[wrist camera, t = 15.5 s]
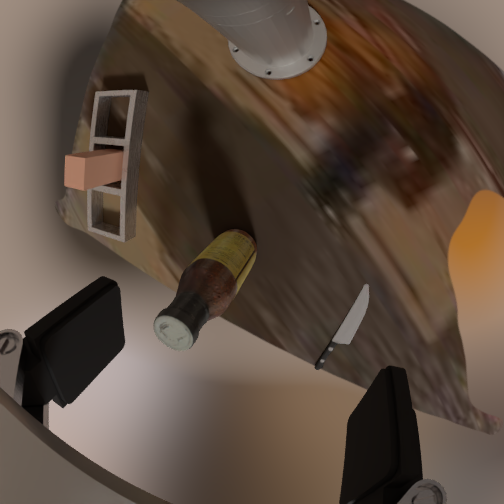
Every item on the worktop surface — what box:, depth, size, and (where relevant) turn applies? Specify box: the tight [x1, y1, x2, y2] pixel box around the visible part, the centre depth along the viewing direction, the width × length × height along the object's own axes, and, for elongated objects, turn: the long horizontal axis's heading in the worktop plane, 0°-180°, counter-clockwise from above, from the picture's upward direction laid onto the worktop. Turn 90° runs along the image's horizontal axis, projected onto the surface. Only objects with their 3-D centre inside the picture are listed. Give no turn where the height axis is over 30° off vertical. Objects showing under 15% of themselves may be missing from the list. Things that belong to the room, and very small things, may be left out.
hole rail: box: [87, 90, 149, 242], centre depth 41 cm, size 23×9×3 cm, turn 170°
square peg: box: [65, 148, 124, 191], centre depth 37 cm, size 4×4×10 cm
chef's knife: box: [315, 284, 369, 370], centre depth 42 cm, size 19×1×3 cm
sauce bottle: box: [154, 229, 257, 351], centre depth 33 cm, size 6×6×20 cm
